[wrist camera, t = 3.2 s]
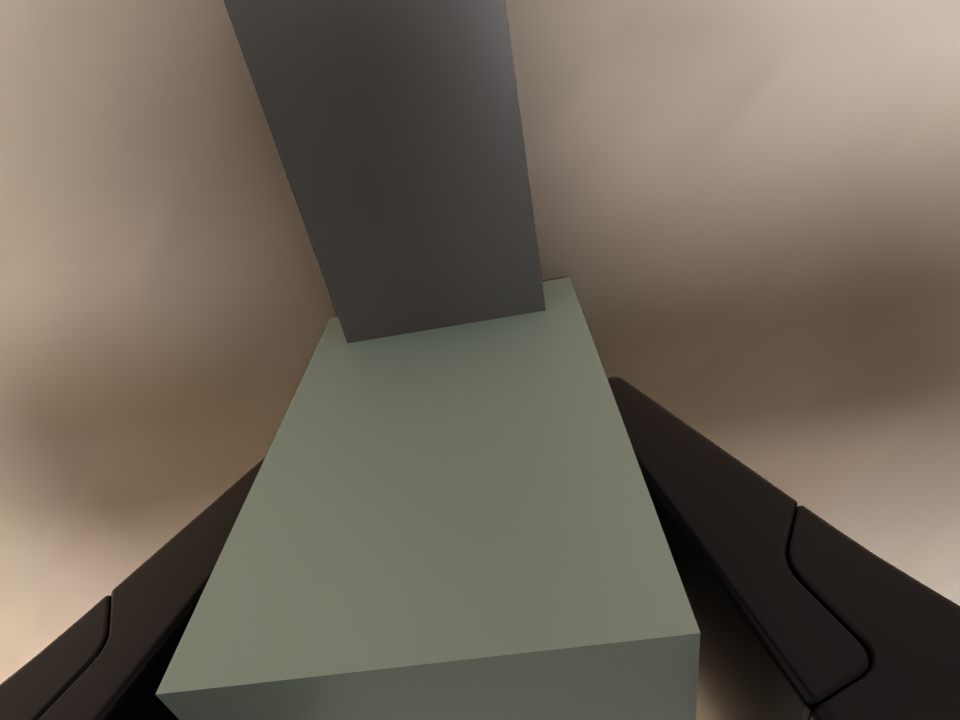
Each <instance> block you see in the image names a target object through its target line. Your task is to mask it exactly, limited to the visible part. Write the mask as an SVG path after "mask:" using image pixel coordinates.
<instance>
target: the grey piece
mask: <svg viewBox="0 0 960 720" xmlns="http://www.w3.org/2000/svg"><path fill="white" fill-rule="evenodd" d="M224 2H225V5H226V8H227V11H228V13H229V16H230V19H231V22H232V24H233V27H234V30H235V33H236V36H237V38H238V41H239V44H240V47H241V49H242V52H243V55H244V58H245V61H246V63H247V66H248V69H249V72H250V74H251V77H252V80H253V83H254V85H255V88H256V91H257V94H258V97H259V99H260V102H261V105H262V108H263V110H264V113H265V116H266V119H267V121H268V124H269V127H270V130H271V133H272V135H273V138H274V141H275V144H276V146H277V149H278V152H279V155H280V158H281V160H282V163H283V166H284V169H285V171H286V174H287V177H288V180H289V182H290V185H291V188H292V191H293V194H294V196H295V199H296V202H297V205H298V207H299V210H300V213H301V216H302V219H303V221H304V224H305V227H306V230H307V232H308V235H309V238H310V241H311V243H312V246H313V249H314V252H315V255H316V257H317V260H318V263H319V266H320V268H321V271H322V274H323V277H324V279H325V282H326V285H327V288H328V291H329V293H330V296H331V299H332V302H333V304H334V307H335V310H336V313H337V317H331V318H330V319H329V321H328V323H327V325H326V328H325V330H324V332H323V334H322V336H321V338H320V341H319V343H318V345H317V347H316V349H315V351H314V353H313V356H312V358H311V360H310V362H309V364H308V366H307V369H306V371H305V373H304V375H303V377H302V379H301V381H300V384H299V386H298V388H297V390H296V392H295V394H294V397H293V399H292V401H291V403H290V405H289V407H288V410H287V412H286V414H285V416H284V418H283V420H282V422H281V425H280V427H279V429H278V431H277V433H276V435H275V438H274V440H273V442H272V444H271V446H270V448H269V450H268V453H267V455H266V457H265V459H264V461H263V463H262V466H261V468H260V470H259V472H258V474H257V476H256V479H255V481H254V483H253V485H252V487H251V489H250V491H249V494H248V496H247V498H246V500H245V502H244V504H243V507H242V509H241V511H240V513H239V515H238V517H237V519H236V522H235V524H234V526H233V528H232V530H231V532H230V535H229V537H228V539H227V541H226V543H225V545H224V548H223V550H222V552H221V554H220V556H219V558H218V560H217V563H216V565H215V567H214V569H213V571H212V573H211V576H210V578H209V580H208V582H207V584H206V586H205V588H204V591H203V593H202V595H201V597H200V599H199V601H198V604H197V606H196V608H195V610H194V612H193V614H192V617H191V619H190V621H189V623H188V625H187V627H186V629H185V632H184V634H183V636H182V638H181V640H180V642H179V645H178V647H177V649H176V651H175V653H174V655H173V657H172V660H171V662H170V664H169V666H168V668H167V670H166V673H165V675H164V677H163V679H162V681H161V683H160V686H159V688H158V690H157V692H156V694H155V695H156V696H157V697H158V698H159V699H160V700H161V701H162V702H163V703H164V704H165V705H166V706H167V707H168V708H169V709H170V711H171V712H172V713H173V714H174V715H175V716H176V717H177V718H178V719H179V720H696V706H697V687H698V669H699V650H700V630H699V628H698V625H697V622H696V620H695V617H694V614H693V611H692V609H691V606H690V603H689V600H688V598H687V595H686V592H685V590H684V587H683V584H682V581H681V579H680V576H679V573H678V570H677V568H676V565H675V562H674V559H673V557H672V554H671V551H670V549H669V546H668V543H667V540H666V538H665V535H664V532H663V529H662V527H661V524H660V521H659V519H658V516H657V513H656V510H655V508H654V505H653V502H652V499H651V497H650V494H649V491H648V488H647V486H646V483H645V480H644V478H643V475H642V472H641V469H640V467H639V464H638V461H637V458H636V456H635V453H634V450H633V448H632V445H631V442H630V439H629V437H628V434H627V431H626V428H625V426H624V423H623V420H622V417H621V415H620V412H619V409H618V407H617V404H616V401H615V398H614V396H613V393H612V390H611V387H610V385H609V382H608V379H607V376H606V374H605V371H604V368H603V366H602V363H601V360H600V357H599V355H598V352H597V349H596V346H595V344H594V341H593V338H592V336H591V333H590V330H589V327H588V325H587V322H586V319H585V316H584V314H583V311H582V308H581V305H580V303H579V300H578V297H577V295H576V292H575V289H574V286H573V284H572V281H571V278H570V277H565V278H559V279H553V280H548V281H542V277H541V270H540V262H539V254H538V247H537V239H536V232H535V224H534V217H533V209H532V202H531V194H530V187H529V179H528V171H527V164H526V156H525V149H524V141H523V134H522V126H521V119H520V111H519V104H518V96H517V88H516V81H515V73H514V66H513V58H512V51H511V43H510V36H509V28H508V21H507V13H506V6H505V0H224Z"/></svg>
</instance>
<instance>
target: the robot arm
mask: <svg viewBox="0 0 960 720" xmlns="http://www.w3.org/2000/svg"><path fill="white" fill-rule="evenodd" d="M607 379H608V382H609V385H610V387H611V390H612V393H613V396H614V398H615V401H616V404H617V407H618V409H619V412H620V415H621V417H622V420H623V423H624V426H625V428H626V431H627V434H628V437H629V439H630V442H631V445H632V448H633V450H634V453H635V456H636V458H637V461H638V464H639V467H640V469H641V472H642V475H643V478H644V480H645V483H646V486H647V488H648V491H649V494H650V497H651V499H652V502H653V505H654V508H655V510H656V513H657V516H658V519H659V521H660V524H661V527H662V529H663V532H664V535H665V538H666V540H667V543H668V546H669V549H670V551H671V554H672V557H673V559H674V562H675V565H676V568H677V570H678V573H679V576H680V579H681V581H682V584H683V587H684V590H685V592H686V595H687V598H688V600H689V603H690V606H691V609H692V611H693V614H694V617H695V620H696V622H697V625H698V628H699V630H700V650H699V669H698V687H697V706H696V720H960V606H959V605H957V604H956V603H954V602H952V601H950V600H949V599H947V598H945V597H944V596H942V595H940V594H939V593H937V592H935V591H933V590H932V589H930V588H928V587H927V586H925V585H924V584H922V583H920V582H919V581H917V580H915V579H914V578H912V577H910V576H909V575H907V574H906V573H904V572H902V571H901V570H899V569H897V568H896V567H894V566H893V565H891V564H889V563H888V562H886V561H884V560H883V559H881V558H879V557H878V556H876V555H875V554H873V553H872V552H870V551H869V550H867V549H866V548H864V547H863V546H861V545H860V544H858V543H857V542H855V541H854V540H852V539H851V538H849V537H848V536H846V535H845V534H843V533H842V532H840V531H839V530H837V529H836V528H834V527H833V526H831V525H830V524H828V523H827V522H825V521H824V520H823V519H821V518H820V517H818V516H817V515H816V514H814V513H813V512H811V511H810V510H808V509H807V508H806V507H804V506H798V503H797V502H796V501H795V500H794V499H792V498H791V497H790V496H788V495H787V494H785V493H784V492H782V491H781V490H780V489H778V488H777V487H775V486H774V485H773V484H771V483H770V482H768V481H767V480H765V479H764V478H763V477H761V476H760V475H758V474H757V473H755V472H754V471H753V470H751V469H750V468H748V467H747V466H746V465H744V464H743V463H741V462H740V461H738V460H737V459H736V458H734V457H733V456H731V455H730V454H728V453H727V452H726V451H724V450H723V449H721V448H720V447H719V446H717V445H716V444H714V443H713V442H711V441H710V440H709V439H707V438H706V437H704V436H703V435H701V434H700V433H699V432H697V431H696V430H694V429H693V428H692V427H690V426H689V425H687V424H686V423H684V422H683V421H682V420H680V419H679V418H677V417H676V416H675V415H673V414H672V413H670V412H669V411H667V410H666V409H665V408H663V407H662V406H660V405H659V404H657V403H656V402H655V401H653V400H652V399H650V398H649V397H648V396H646V395H645V394H643V393H642V392H640V391H639V390H638V389H636V388H635V387H633V386H632V385H630V384H629V383H628V382H626V381H625V380H623V379H622V378H620V377H612V378H607ZM264 459H265V458H264ZM264 459H263V460H262V461H260V462H259V463H258V464H257V465H256V466H255V467H254V468H252V469H251V470H250V471H249V472H248V473H247V474H245V475H244V476H243V477H242V478H241V479H240V480H239V481H237V482H236V483H235V484H234V485H233V486H232V487H231V488H229V489H228V490H227V491H226V492H225V493H224V494H223V495H221V496H220V497H219V498H218V499H217V500H216V501H215V502H213V503H212V504H211V505H210V506H209V507H208V508H207V509H205V510H204V511H203V512H202V513H201V514H200V515H198V516H197V517H196V518H195V519H194V520H193V521H192V522H190V523H189V524H188V525H187V526H186V527H185V528H184V529H182V530H181V531H180V532H179V533H178V534H177V535H176V536H174V537H173V538H172V539H171V540H170V541H169V542H168V543H166V544H165V545H164V546H163V547H162V548H161V549H160V550H158V551H157V552H156V553H155V554H154V555H153V556H152V557H150V558H149V559H148V560H147V561H146V562H145V563H143V564H142V565H141V566H140V567H139V568H138V569H137V570H135V571H134V572H133V573H132V574H131V575H130V576H129V577H127V578H126V579H125V580H124V581H123V582H122V583H121V584H119V585H118V586H117V587H116V588H115V589H114V590H113V591H112V594H111V596H106V597H104V598H103V599H102V600H101V601H100V602H99V603H97V604H96V605H95V606H94V607H93V608H92V609H91V610H90V611H88V612H87V613H86V614H85V615H84V616H83V617H82V618H80V619H79V620H78V621H77V622H76V623H75V624H73V625H72V626H71V627H70V628H69V629H67V630H66V631H65V632H64V633H63V634H62V635H60V636H59V637H58V638H57V639H56V640H55V641H53V642H52V643H51V644H50V645H49V646H47V647H46V648H45V649H44V650H43V651H42V652H40V653H39V654H38V655H37V656H36V657H34V658H33V659H32V660H31V661H29V662H28V663H27V664H26V665H24V666H23V667H22V668H21V669H19V670H18V671H17V672H16V673H14V674H13V675H12V676H11V677H9V678H8V679H7V680H6V681H4V682H3V683H2V684H1V685H0V720H179V719H178V718H177V717H176V716H175V715H174V714H173V713H172V712H171V711H170V709H169V708H168V707H167V706H166V705H165V704H164V703H163V702H162V701H161V700H160V699H159V698H158V697H157V696H156V695H155V694H156V692H157V690H158V688H159V686H160V683H161V681H162V679H163V677H164V675H165V673H166V670H167V668H168V666H169V664H170V662H171V660H172V657H173V655H174V653H175V651H176V649H177V647H178V645H179V642H180V640H181V638H182V636H183V634H184V632H185V629H186V627H187V625H188V623H189V621H190V619H191V617H192V614H193V612H194V610H195V608H196V606H197V604H198V601H199V599H200V597H201V595H202V593H203V591H204V588H205V586H206V584H207V582H208V580H209V578H210V576H211V573H212V571H213V569H214V567H215V565H216V563H217V560H218V558H219V556H220V554H221V552H222V550H223V548H224V545H225V543H226V541H227V539H228V537H229V535H230V532H231V530H232V528H233V526H234V524H235V522H236V519H237V517H238V515H239V513H240V511H241V509H242V507H243V504H244V502H245V500H246V498H247V496H248V494H249V491H250V489H251V487H252V485H253V483H254V481H255V479H256V476H257V474H258V472H259V470H260V468H261V466H262V463H263V461H264ZM797 507H798V508H797Z"/></svg>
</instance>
